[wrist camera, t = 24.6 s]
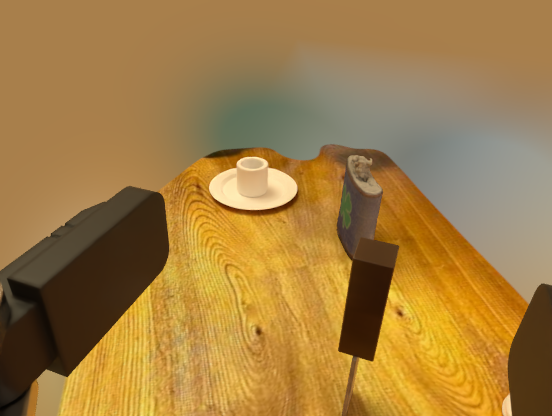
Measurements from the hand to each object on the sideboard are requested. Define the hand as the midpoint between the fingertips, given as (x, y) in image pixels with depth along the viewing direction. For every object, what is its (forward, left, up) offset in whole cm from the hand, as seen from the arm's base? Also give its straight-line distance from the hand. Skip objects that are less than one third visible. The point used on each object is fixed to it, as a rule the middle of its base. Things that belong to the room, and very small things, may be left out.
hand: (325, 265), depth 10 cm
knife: (0, +15, -25) cm, 29 cm away
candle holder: (-19, +43, -25) cm, 54 cm away
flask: (-4, +37, -25) cm, 45 cm away
